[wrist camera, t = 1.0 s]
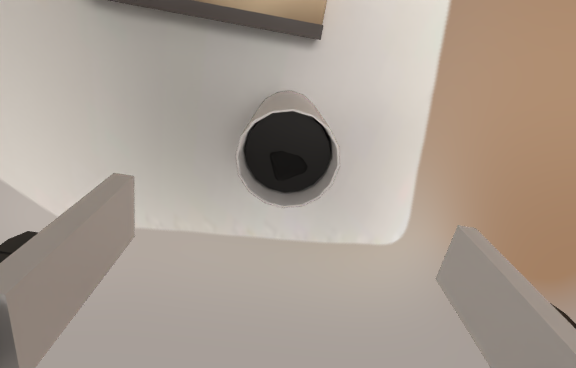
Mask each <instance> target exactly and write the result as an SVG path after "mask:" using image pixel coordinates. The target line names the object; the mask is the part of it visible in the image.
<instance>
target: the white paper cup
mask: <svg viewBox="0 0 576 368" xmlns="http://www.w3.org/2000/svg"><path fill="white" fill-rule="evenodd" d="M235 158H236V164H237V170H238V176H239V177H240V179H241V180H242V182H243V184H244V185H245V187H246V188H247V190H248V191H249V192H250V193H251V194H253V195H254V196H255V197H257V198H258V199H260V200H261V201H262V202H264V203H267V204H270V205H274V206H278V207H281V208H288V207H299V206H304V205H306V204H308V203H310V202H312V201H314V200H317V199H319V198H320V197H321V196H322V195H323V194H324V193H325V192H326V191H327V190H328V189H329V188H330V187H331V186H332V185H333V183H334V180H335V177H336V175H337V172H338V170H339V167H340V156H339V145H338V143H337V141H336V139H335V137H334V135H333V133H332V131H331V129H330V128H329V126H328V125H327V123H326V122H325V120H324V119H323V117H322V116H321V114H320V113H319V111H318V110H317V109H316V107H315V106H314V104H313V103H312V102H311V101H310V100H309V99H307V98H306V97H305V96H304V95H302V94H299V93H296V92H293V91H284V92H277V93H275V94H273V95H272V96H270V97H268V98H266V100H265V101H264V102H263V103H262V105H261V106H260V107H259V108H258V110H257V112H256V113H255V115H254V116H253V118H252V120H251V121H250V123H249V124H248V126H247V127H246V129H245V130H244V132H243V134H242V135H241V137H240V140H239V144H238V148H237V152H236V155H235Z"/></svg>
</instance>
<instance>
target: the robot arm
mask: <svg viewBox="0 0 576 368" xmlns="http://www.w3.org/2000/svg"><path fill="white" fill-rule="evenodd" d="M133 238H134V176H130V175H123V174H117V173H113V174H112V175H111V176H110V177H108V178H107V179H106V180H105V181H103V182H102V183H101V184H100V185H98V186H97V187H96V188H94V189H93V190H92V191H91V192H89V193H88V194H87V195H86V196H84V197H83V198H82V199H81V200H79V201H78V202H77V203H76V204H74V205H73V206H72V207H70V208H69V209H68V210H67V211H65V212H64V213H63V214H62V215H60V216H59V217H58V218H57V219H55V220H54V221H53V222H52V223H50V224H49V225H48V226H46V227H45V228H44V229H43V230H41V231H40V232H39V233H37V232H30V231H27V232H25V233H22V234H20V235H17V236H15V237H13V238H10V239H8V240H7V241H5V242H4V243H2V244H1V245H0V368H35V367H36V366H37V365H38V363H39V362H40V361H41V360H42V358H43V357H44V356H45V354H46V353H47V352H48V350H49V349H50V348H51V346H52V345H53V344H54V342H55V341H56V340H57V338H58V337H59V336H60V334H61V333H62V332H63V330H64V329H65V328H66V326H67V325H68V324H69V323H70V321H71V320H72V319H73V317H74V316H75V315H76V313H77V312H78V311H79V309H80V308H81V307H82V305H83V304H84V303H85V301H86V300H87V299H88V297H89V296H90V295H91V294H92V292H93V291H94V289H95V288H96V287H97V286H98V284H99V283H100V282H101V280H102V279H103V277H104V276H105V275H106V274H107V272H108V271H109V270H110V268H111V267H112V266H113V264H114V263H115V262H116V260H117V259H118V258H119V257H120V255H121V254H122V253H123V251H124V250H125V248H126V247H127V246H128V245H129V243H130V242H131V241H132V239H133ZM436 280H437V282H438V284H439V285H440V287H441V288H442V290H443V291H444V293H445V295H446V296H447V298H448V300H449V301H450V303H451V305H452V306H453V308H454V309H455V311H456V313H457V314H458V316H459V318H460V319H461V321H462V322H463V324H464V325H465V327H466V329H467V330H468V332H469V334H470V335H471V337H472V338H473V340H474V342H475V343H476V345H477V347H478V348H479V350H480V351H481V353H482V355H483V356H484V358H485V359H486V361H487V362H488V364H489V366H490V368H576V324H575V323H574V322H573V321H572V320H571V319H570V318H569V317H568V316H567V315H566V314H565V313H564V312H562V311H561V310H559V309H558V308H557V307H555V306H554V305H552V304H551V303H549V302H548V301H547V300H546V299H545V298H544V297H543V296H542V295H541V294H540V293H539V292H538V291H537V290H536V289H535V288H534V287H533V286H532V284H531V283H530V282H529V281H528V280H527V279H526V278H525V277H523V275H521V273H520V272H518V270H516V268H515V267H514V266H513V265H512V264H511V263H510V262H509V261H508V260H506V258H505V257H504V256H503V255H502V254H501V253H500V252H499V251H498V250H497V249H496V248H495V247H494V246H493V245H492V244H491V243H490V242H489V241H488V240H487V239H486V238H485V237H484V236H483V235H482V234H481V233H480V232H479V231H478V230H477V229H476V228H472V227H465V226H459V225H458V226H457V229H456V231H455V234H454V236H453V238H452V241H451V243H450V245H449V248H448V250H447V253H446V255H445V258H444V260H443V262H442V265H441V267H440V269H439V272H438V274H437V277H436Z"/></svg>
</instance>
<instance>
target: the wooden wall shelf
mask: <svg viewBox="0 0 576 368" xmlns="http://www.w3.org/2000/svg"><path fill="white" fill-rule="evenodd" d="M110 1H115V2H121V3H126V4H131V5H137V6H142V7H147V8H153V9H158V10H163V11H169V12H174V13H179V14H185V15H190V16H196V17H201V18H206V19H212V20H217V21H222V22H228V23H233V24H238V25H244V26H249V27H254V28H260V29H265V30H271V31H276V32H281V33H287V34H292V35H297V36H303V37H308V38H313V39H319V40H321V35H322V30H323V25H322V23H323V18H324V13H325V8H326V2H327V0H110Z"/></svg>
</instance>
